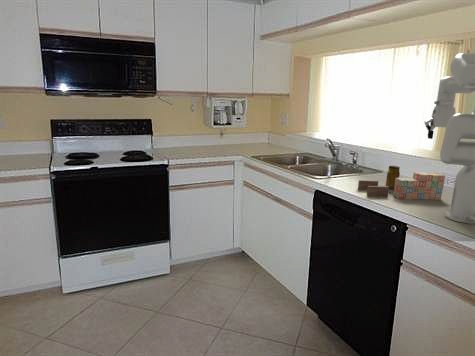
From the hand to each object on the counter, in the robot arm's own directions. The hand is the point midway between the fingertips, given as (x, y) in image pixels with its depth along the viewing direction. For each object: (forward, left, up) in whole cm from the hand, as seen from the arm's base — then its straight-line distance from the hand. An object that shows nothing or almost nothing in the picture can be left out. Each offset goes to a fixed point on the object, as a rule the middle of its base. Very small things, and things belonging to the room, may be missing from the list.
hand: (439, 138), depth 178 cm
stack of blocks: (-9, +12, -29) cm, 32 cm away
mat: (+6, +18, -28) cm, 34 cm away
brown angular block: (-2, +32, -28) cm, 43 cm away
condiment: (+6, +17, -28) cm, 33 cm away
